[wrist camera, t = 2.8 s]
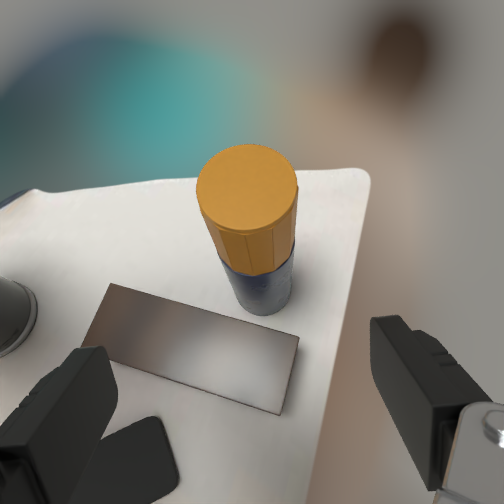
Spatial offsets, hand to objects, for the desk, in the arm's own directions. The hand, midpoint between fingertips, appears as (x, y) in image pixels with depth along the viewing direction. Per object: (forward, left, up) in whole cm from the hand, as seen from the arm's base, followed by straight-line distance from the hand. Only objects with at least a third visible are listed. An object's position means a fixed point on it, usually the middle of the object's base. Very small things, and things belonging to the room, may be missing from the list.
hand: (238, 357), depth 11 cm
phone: (-5, -18, -29) cm, 35 cm away
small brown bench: (-8, -3, -29) cm, 31 cm away
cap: (-8, +7, -15) cm, 19 cm away
